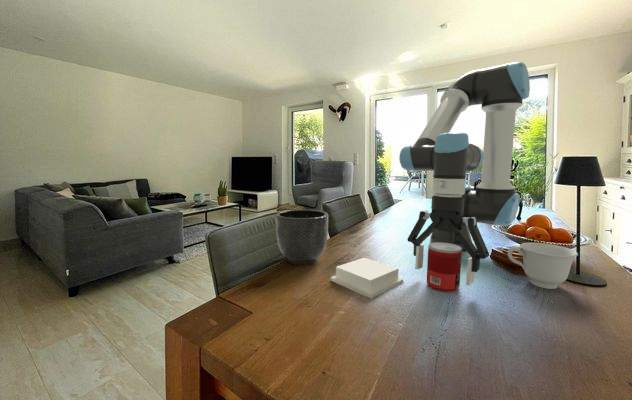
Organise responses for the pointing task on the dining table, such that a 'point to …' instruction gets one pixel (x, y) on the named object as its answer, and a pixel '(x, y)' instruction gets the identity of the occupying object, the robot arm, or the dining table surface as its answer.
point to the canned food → (444, 266)
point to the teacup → (545, 263)
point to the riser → (367, 277)
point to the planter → (302, 235)
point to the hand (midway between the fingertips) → (442, 275)
